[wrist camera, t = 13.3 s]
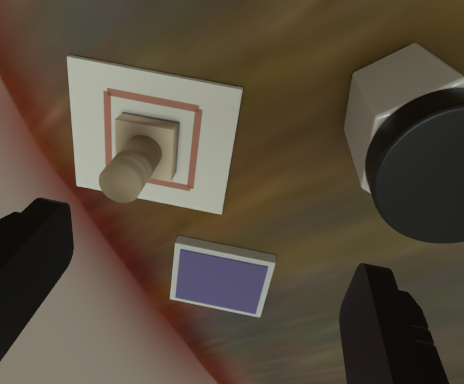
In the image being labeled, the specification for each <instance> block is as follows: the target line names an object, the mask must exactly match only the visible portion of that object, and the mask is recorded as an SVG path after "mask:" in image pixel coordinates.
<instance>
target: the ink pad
mask: <svg viewBox="0 0 464 384" xmlns="http://www.w3.org/2000/svg"><path fill="white" fill-rule="evenodd" d="M275 263H276V255H273V254H268V253H263V252H258V251H253V250H248V249H243V248H238V247H233V246H228V245H223V244H218V243H213V242H208V241H203V240H198V239H193V238H188V237H183V236H179V235H178V237H177V240H176V242H175V250H174V261H173V271H172V282H171V293H170V299H172V300H177V301H182V302H187V303H192V304H197V305H201V306H206V307H211V308H216V309H221V310H226V311H230V312H235V313H240V314H245V315H250V316H255V317H259V318H260V316H261V313H262V309H263V306H264V302H265V299H266V295H267V292H268V288H269V284H270V281H271V277H272V274H273V270H274V267H275Z"/></svg>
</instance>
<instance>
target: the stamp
mask: <svg viewBox="0 0 464 384" xmlns="http://www.w3.org/2000/svg"><path fill="white" fill-rule="evenodd" d="M179 126H180V122H177V121H172V120H166V119H161V118H155V117H150V116H144V115H139V114H133V113H128V112H122V113H121V114H120V115H119V116H118V117H117V118H116V119H115V145H116V156H115V157H114V158H113V159H112V160H111V162H110V163H109V164H108V165H107V166H106V167H105V168H104V170H103V171H102V172H101V173H100V176H99V185H100V188H101V190H102V191H103V193H104V194H105V195H106V196H107V197H108V198H110V199H111V200H113V201H116V202H119V203H129V202H132V201H134V200H135V199H136V198H137V197H138V196H139V194H140V192H141V191H142V189H143V188H144V186H145V184H146V183H147V181H148V180H149V178H151V179H157V180H162V181H167V182H171V181H172V179H173V177H174V176H175V174H176V169H177V154H178V140H179Z"/></svg>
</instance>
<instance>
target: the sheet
mask: <svg viewBox="0 0 464 384" xmlns="http://www.w3.org/2000/svg"><path fill="white" fill-rule="evenodd" d="M67 66H68V79H69V92H70V106H71V119H72V132H73V145H74V158H75V172H76V185H77V186H80V187H85V188H90V189H95V190H100V191H102V190H101V188H100V185H99V176H100V173H101V172H102V171H103V170H104V168H105V167H106V166H107V165H108V164H109V163H110V162H111V160H112V159H113V158H114V157H115V156H116V145H115V119H116V118H117V117H118V116H119V115H120V114H121V113H122V112H128V113H133V114H139V115H144V116H150V117H155V118H161V119H166V120H172V121H177V122H180V126H179V140H178V154H177V169H176V174H175V176H174V177H173V179H172V181H171V182H167V181H162V180H157V179H151V178H149V180H148V181H147V183H146V184H145V186H144V188H143V189H142V191H141V192H140V194H139V196H138V197H137V198H140V199H145V200H151V201H156V202H161V203H166V204H171V205H176V206H181V207H186V208H191V209H196V210H201V211H206V212H211V213H216V214H221V215H222V211H223V205H224V199H225V193H226V187H227V181H228V175H229V169H230V163H231V158H232V152H233V146H234V140H235V134H236V128H237V122H238V116H239V110H240V104H241V98H242V92H243V87H238V86H232V85H227V84H222V83H217V82H211V81H206V80H201V79H195V78H190V77H185V76H180V75H174V74H169V73H164V72H158V71H153V70H148V69H143V68H137V67H132V66H127V65H122V64H116V63H111V62H106V61H100V60H95V59H90V58H85V57H79V56H74V55H69V56H67Z"/></svg>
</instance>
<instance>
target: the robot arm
mask: <svg viewBox="0 0 464 384" xmlns="http://www.w3.org/2000/svg"><path fill="white" fill-rule="evenodd" d="M73 244H74V243H73V233H72V221H71V212H70V206H69V204H68V203H65V202H60V201H55V200H50V199H45V198H37V199H35V200H34V201H33V202H32V203H31V204H30V205H29V206H28V207H27V208H26V209H25V210H24V211H22V212H21V213H19V212H13V213H11V214H9V215H7V216H5V217H3V218H1V219H0V361H1V359H2V358H3V357H4V355H5V354H6V353H7V351H8V350H9V348H10V347H11V345H12V344H13V343H14V341H15V340H16V339H17V337H18V336H19V335H20V333H21V332H22V330H23V329H24V328H25V326H26V325H27V323H28V322H29V321H30V319H31V318H32V316H33V315H34V314H35V312H36V311H37V309H38V308H39V307H40V305H41V304H42V302H43V301H44V300H45V298H46V297H47V295H48V294H49V293H50V291H51V290H52V288H53V287H54V286H55V284H56V283H57V281H58V280H59V279H60V277H61V276H62V274H63V273H64V271H65V270H66V269H67V267H68V266H69V264H70V261H71V259H72V255H73V250H74V245H73ZM339 325H340V333H341V340H342V348H343V356H344V363H345V371H346V379H347V384H449V382H448V379H447V376H446V374H445V371H444V368H443V365H442V363H441V360H440V357H439V355H438V352H437V349H436V346H434V341H433V338H432V336H431V333H430V331H428V325H427V322H426V319H425V317H424V314H423V311H422V309H421V308H420V306H419V305H418V304H417V303H416V301H415V300H414V299H413V298H412V296H411V295H410V294H409V293H408V292H405V291H400V290H398V287H397V284H396V281H395V278H394V275H393V272H392V270H391V269H389V268H384V267H379V266H374V265H369V264H364V263H361V264H359V266H358V267H357V269H356V272H355V274H354V276H353V278H352V281H351V283H350V285H349V288H348V290H347V292H346V295H345V297H344V299H343V302H342V305H341V309H340V316H339Z"/></svg>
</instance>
